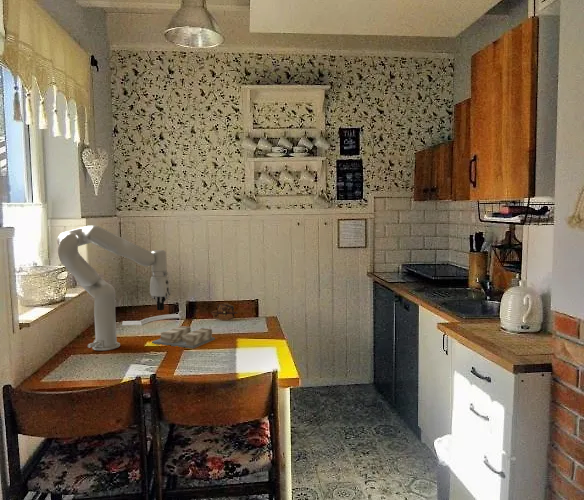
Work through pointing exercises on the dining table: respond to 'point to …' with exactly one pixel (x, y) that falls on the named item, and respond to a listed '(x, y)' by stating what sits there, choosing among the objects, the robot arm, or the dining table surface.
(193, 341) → the fixed plank
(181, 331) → the ash plank
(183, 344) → the floor panel
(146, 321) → the molding
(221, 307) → the wooden carving
